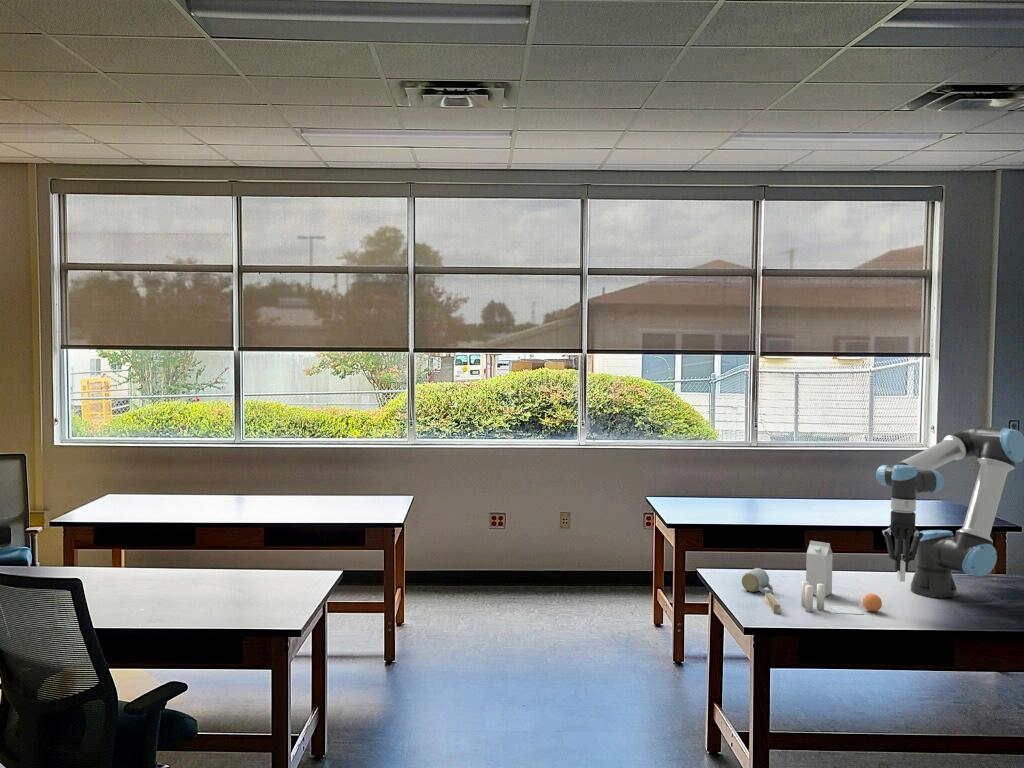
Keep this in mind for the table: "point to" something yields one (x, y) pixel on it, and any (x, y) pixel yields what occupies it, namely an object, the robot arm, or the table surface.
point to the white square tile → (845, 610)
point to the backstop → (772, 603)
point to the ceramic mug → (756, 581)
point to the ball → (872, 602)
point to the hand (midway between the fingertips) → (901, 580)
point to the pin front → (820, 596)
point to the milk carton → (819, 566)
